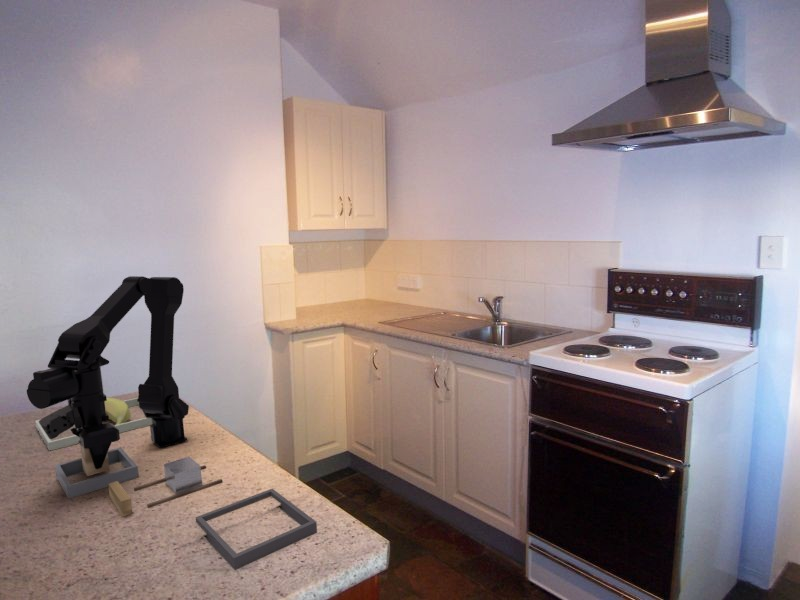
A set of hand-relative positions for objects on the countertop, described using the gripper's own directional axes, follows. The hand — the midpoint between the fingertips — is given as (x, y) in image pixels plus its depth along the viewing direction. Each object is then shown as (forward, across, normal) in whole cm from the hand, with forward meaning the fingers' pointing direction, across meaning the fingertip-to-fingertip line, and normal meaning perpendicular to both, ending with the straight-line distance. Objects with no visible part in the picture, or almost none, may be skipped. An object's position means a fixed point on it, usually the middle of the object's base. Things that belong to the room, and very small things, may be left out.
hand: (96, 464), depth 114 cm
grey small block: (+2, +16, +12) cm, 20 cm away
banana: (+4, -35, +8) cm, 36 cm away
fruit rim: (+4, -35, +8) cm, 36 cm away
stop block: (+1, 0, 0) cm, 1 cm away
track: (+4, +16, +7) cm, 18 cm away
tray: (+4, 0, 0) cm, 4 cm away
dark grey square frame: (+4, +39, +16) cm, 42 cm away
